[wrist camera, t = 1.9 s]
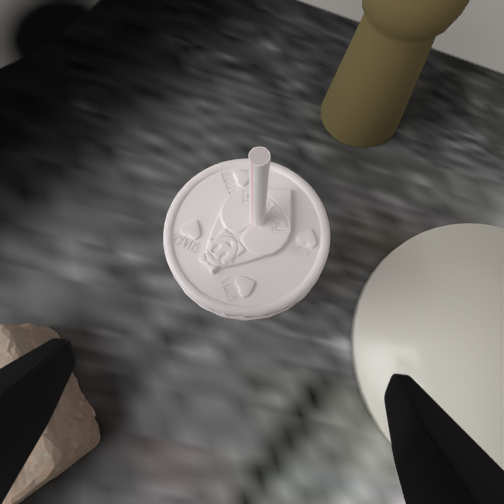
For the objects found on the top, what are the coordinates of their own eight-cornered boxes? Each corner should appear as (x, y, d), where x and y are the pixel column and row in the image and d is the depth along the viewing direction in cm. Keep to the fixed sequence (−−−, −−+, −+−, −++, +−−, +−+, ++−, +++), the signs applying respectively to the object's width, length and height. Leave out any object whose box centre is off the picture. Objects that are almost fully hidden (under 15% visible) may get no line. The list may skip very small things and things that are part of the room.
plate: (678, 401, 20) (704, 404, 18) (470, 574, 17) (486, 590, 16) (489, 190, 24) (501, 182, 22) (300, 306, 21) (303, 304, 20)
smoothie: (319, 284, 22) (426, 173, 8) (247, 355, 20) (236, 361, 7) (251, 218, 23) (248, 30, 10) (179, 281, 22) (62, 166, 8)
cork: (341, 158, 24) (408, 10, 14) (307, 95, 26) (344, -81, 16) (414, 132, 25) (531, -28, 14) (377, 72, 27) (457, -111, 16)
